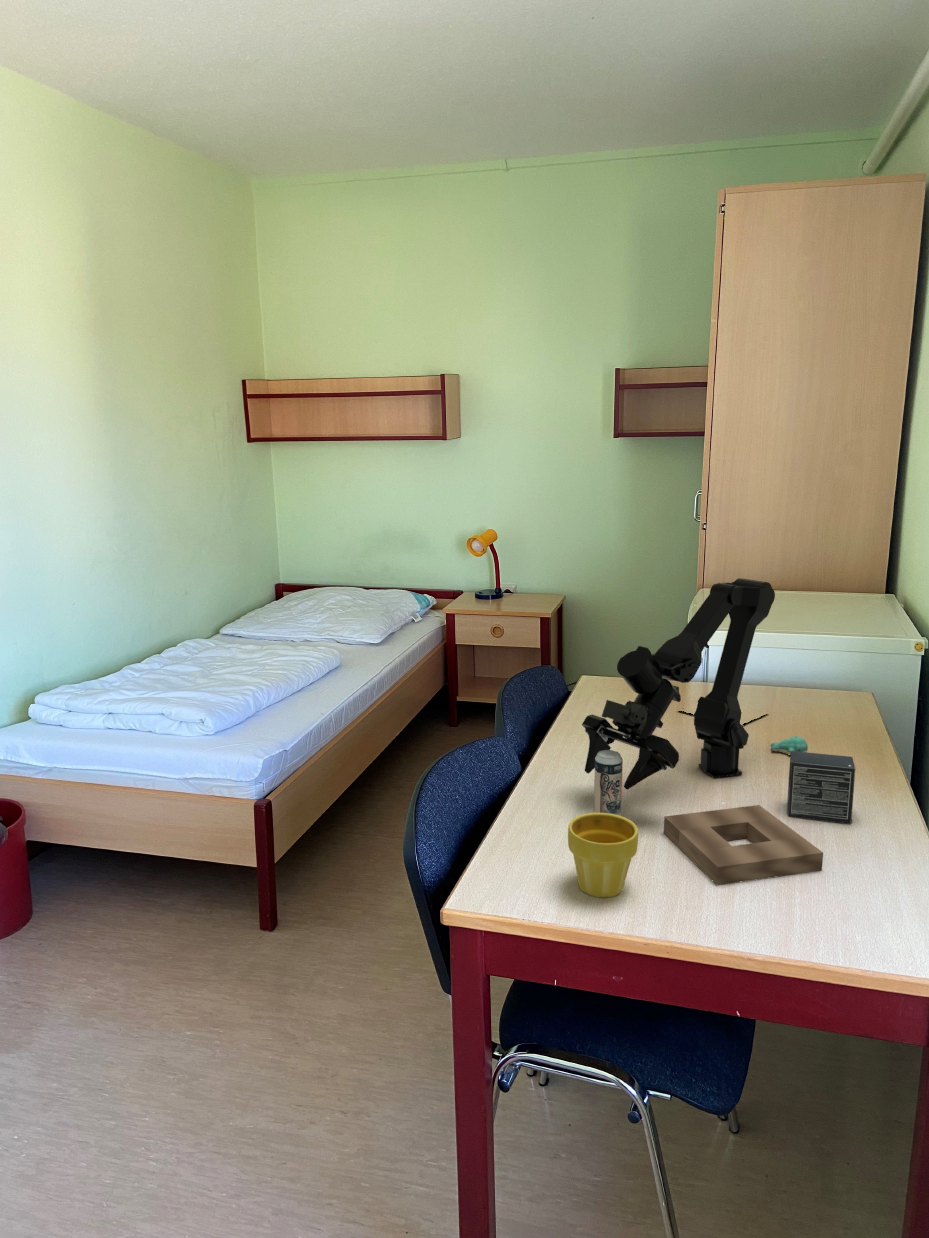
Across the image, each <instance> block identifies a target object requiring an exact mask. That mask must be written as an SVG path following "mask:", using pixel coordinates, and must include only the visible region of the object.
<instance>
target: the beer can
mask: <svg viewBox="0 0 929 1238" xmlns="http://www.w3.org/2000/svg"><path fill="white" fill-rule="evenodd" d="M623 763H624V762H623V758H622V756H621V753H620V752H619V751H616V750H612V749H610V750H603V751H599V752H598V753H597V756H596V757H595V768H594V780H593V781H594V785H593V786H594V787H593V789H594V791H593V792H594V795H593V813H610V814H615V815H619V816H622V799H623V798H622V797H623V796H622V795H623V794H622V793H623V766H624V765H623Z"/></svg>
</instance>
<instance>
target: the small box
mask: <svg viewBox="0 0 929 1238" xmlns="http://www.w3.org/2000/svg"><path fill="white" fill-rule="evenodd" d="M789 756H790V757H789V758H790V759H789V771H788V790H787V804H786V808H787V809H786V811H787V816H788V817H789V818H796V819H802V820H803V819H805V820H811V821H812V820H813V821H814V820H815V821H822V822H831V823H839V824H847V825H851V824H853V805H854V791H855V779H856V769H857V768H856V765H855V762H854V757H853V756H849V755H838V754H827V753H818V752H817V753H815V752H808V751H807V752H797V751H791V754H790V755H789Z"/></svg>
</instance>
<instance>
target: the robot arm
mask: <svg viewBox="0 0 929 1238" xmlns="http://www.w3.org/2000/svg"><path fill="white" fill-rule="evenodd" d="M775 599H776V593H775V590H774V588H773V586H772V584H771V583H770V582H768V581H761V580H755V579H747V578H741V577H739V578H737V579H736V580H735V581H732V582H718V583H714V584H713V585H712V586H711V588H710V590H709V593H708V595H707V597H706V598H705V600H704V601H703V602H702V603H701V605H700V606H699V608H698V609H697V611H696V612H695V613H694V615H693V616H692V617H691V619H690V620H689V622H688V623H687V624H686V626H685V627H684V628H683V630H682V631H681V632H680V633H679V634H678V635H675V636H674V637H672V638H670V639H668V640H666V641H665V642H664V643H663V644H662V645H661V646H660V647H659V648H658V649H657V650H656V652H655V653H653V654H652V652H651V650H650V649H649V647H646V646H642V645H638V647H637V648H636V649H635V650H631V651H629V652H627V653H625V655H623V656H622V657H620V658H619V659H618V662H617V664H616V665H617V666H616V670H617V673H618V674H619V675H620V677H622V679H623V680H624V681H625V683H626V684H627V685H628V686H629V687H630V688H631V690H632V691H633V692H634V693H636V694H637V696H636V697H635V699H634V701H631V700H628V701H626V703H625V704H623V703H619V702H615V701H613V700H610V699H609V700H608V699H606V701H605V705H604V707H603V709H602V713H601V716H599V715H595V714H592V713H591V714H589V715H587V716H586V717H585V718H584V720H583V722H582V723H581V726H582V727H583V728H584V732H585V733H586V734H587V736H588V740H589V741H588V743H589V744H588V745H589V747H588V750H587V751H588V752H587V756H586V761H585V764H584V765H585V766H584V772H585V773H586V774H590V773H591V772H592V771H593V770H595V757H596V756H597V753H598V752H599V751H603V750H612V747H611V746H610V745H611V744H613V743H614V742H615V741H617V742H620V743H623V744H626V745H628V746H631V747H634V748H637V749H639V753H638V757H637V760H636V761H635V764H634V765H633V767H632V768H631V771H630V772H629V774H628V776H627V778H626V780H625V782H624V784H623V788H624V789H625V790H629V789H631V788H633V787H635V786H636V785H637V784H639V783H641V782H642V781H644V780H645V779H647V778H649V777H650V776H652V775H654V774H655V773H658V772H660V771H666V770H667V769H668V768H671V769H675V767H676V766H677V764H678V762H679V761H680V753H679V751H678V750H677V749H676V747H674V745H673V744H672V743H671V741H670V740H669V739H667V738H663V737H660V736H658V735H655V734H654V732H655V730H656V729H657V728H659V729H662V728H663V726H664V722H663V721H662V718H663V717H664V715H665V713H666V711H667V710H668V708H669V707H670V705H671V703H672V702H673V701H674V702H678V703H680V702H681V701H682V699H681V698H682V696H681V694H680V687H679V686H677V685H674V684H672V682H671V681H674V682H679V683H682V684H685V683H690V682H691V681H692V680H693V679H694V678H695V676H696V674H697V672H698V670H699V669H700V667H701V665H702V663H703V658H702V657H703V655H702V652H703V650H704V649H705V647H706V646H707V645H708V643H709V641H710V640H711V638H712V637H713V636H714V634H715V633H716V632H717V630H718V629H719V628H720V626H721V625H722V623H723V622H724V620H725V619H726V618H727V616H728V617H729V619H730V621H729V626H728V629H727V633H726V637H725V639H724V644H723V646H722V647H723V648H722V652H721V656H720V659H719V663H718V667H717V670H716V674H715V677H714V681H713V685H712V689H711V691H710V692H709V693H708V694H707V695H706V696H700V697H699V699H698V700H697V703H698V704H697V708H696V711H695V713H694V715H693V717H694V718H693V725H694V729H695V735H696V737H697V739H698V740H701V741H703V746H702V747H701V750H700V763H699V764H698V768H699V769H700V770H703V772H705V773H706V774H708V775H709V776H711V778H713V779H716V778H726V777H733V776H734V777H735V776H741V775H743V771H742V770H740V769H739V761H740V759H739V758H740V750H743V749H744V746H746V745H747V744H748V739H749V735H750V734H749V733H748V732H747V731H746V729H745V728H744V725H741V724H740V720H741V714H742V712H741V709H740V706H741V705H740V703H739V699H738V695H739V691H740V687H741V684H742V681H743V678H744V674H745V670H746V667H747V662H748V659H749V656H750V652H751V647H752V644H753V639H754V636H755V633H756V628H757V627H758V626H759V625H760V624H761V623H762V622H763V621H764V620H765V619H766V618H767V617H768V616H769V614H770V612H771V608H772V605H773V604H774V601H775ZM670 680H671V681H670ZM607 718H608V719H611V720H612V721H611V722H612V724H613V725H614V726H615V727H617V728H615V727H613V726H612V724H611V723H610V722H609V721H608V720H607Z"/></svg>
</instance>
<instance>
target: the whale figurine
mask: <svg viewBox="0 0 929 1238" xmlns="http://www.w3.org/2000/svg"><path fill="white" fill-rule="evenodd" d="M808 747H809V746H808V742H807V741H806V739H804V738H803V737H801V736H799V735H797V736H792V737H789V738H786V739H784V740H782V741H780V742H772V743H770V748H771V749H770V750H771V751H773V752H779V753H781V752H783V753H782V754H784V753H787V754H791V751H797V752H807V753H808V752H809V751H808V749H809V748H808ZM787 754H786V755H787Z"/></svg>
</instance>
